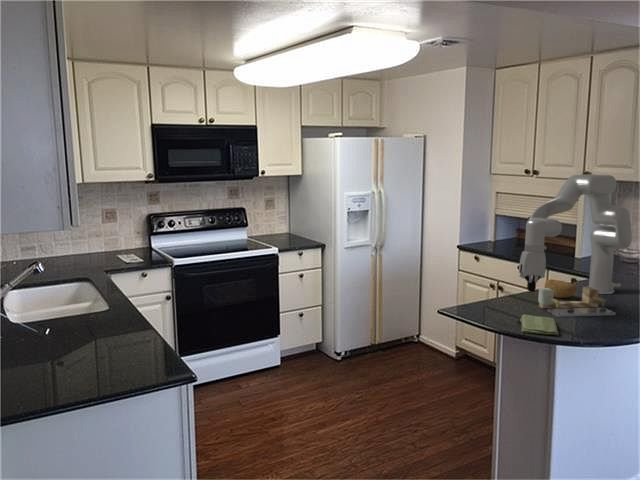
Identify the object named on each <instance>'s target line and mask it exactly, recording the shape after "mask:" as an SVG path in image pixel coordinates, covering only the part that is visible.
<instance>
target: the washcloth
mask: <svg viewBox="0 0 640 480" xmlns="http://www.w3.org/2000/svg"><path fill="white" fill-rule="evenodd" d="M519 321H520V323H521V332H522V333H524V334H534V333H535V335H549V336H550V335H551V336H557V337H558V336H559V334H560V332H559V331H558V327H557V323H556V320H555V319H554V318H553V317H549V316H548V317H547V316H538V315H537V316H536V315H531V314H522V315H521V317H520V320H519Z"/></svg>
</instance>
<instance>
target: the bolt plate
mask: <svg viewBox="0 0 640 480" xmlns="http://www.w3.org/2000/svg"><path fill="white" fill-rule="evenodd" d="M546 311H547V312H548V313H549V312H550V313H549V314H551V313H552V315H553V316H555V317H556V316H557V317H556V318H567V317H568V318H569V317H570V318H571V317H596V316H597V317H598V316H602V317H603V316H616V314H617V312H614V311H612V310H611V309H608V308H606V307H605V306H604V307H603V306H600V307H599V306H598V307H581V308H548V309H547V310H546Z"/></svg>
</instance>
